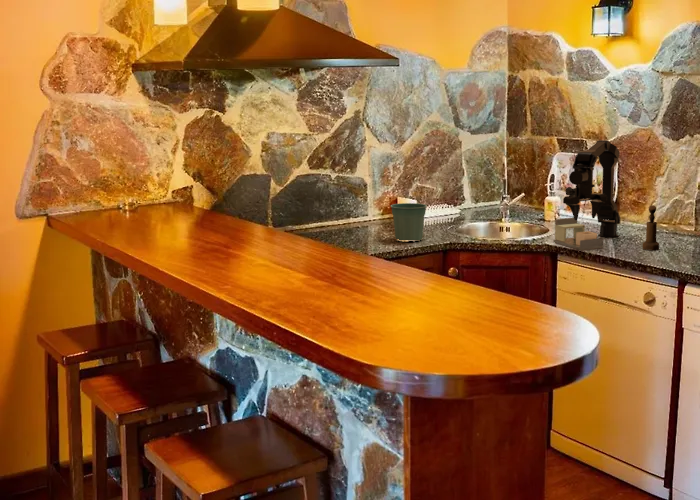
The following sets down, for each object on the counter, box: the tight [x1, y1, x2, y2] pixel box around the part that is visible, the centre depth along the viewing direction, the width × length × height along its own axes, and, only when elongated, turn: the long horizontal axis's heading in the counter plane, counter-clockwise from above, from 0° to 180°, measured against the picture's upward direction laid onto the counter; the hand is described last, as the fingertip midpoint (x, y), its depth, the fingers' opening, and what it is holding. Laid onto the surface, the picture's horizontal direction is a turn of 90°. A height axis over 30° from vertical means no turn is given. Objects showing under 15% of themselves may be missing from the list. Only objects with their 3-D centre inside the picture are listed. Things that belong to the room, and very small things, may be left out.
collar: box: [576, 230, 598, 245], centre depth 342 cm, size 6×6×5 cm
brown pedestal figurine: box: [642, 205, 660, 251], centre depth 334 cm, size 7×6×18 cm
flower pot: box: [390, 202, 428, 240], centre depth 368 cm, size 16×16×16 cm
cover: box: [554, 217, 586, 242], centre depth 353 cm, size 10×7×9 cm
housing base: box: [553, 237, 605, 251], centre depth 348 cm, size 11×20×4 cm, turn 19°
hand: (584, 219), depth 342 cm, fingers open, 9 cm apart
